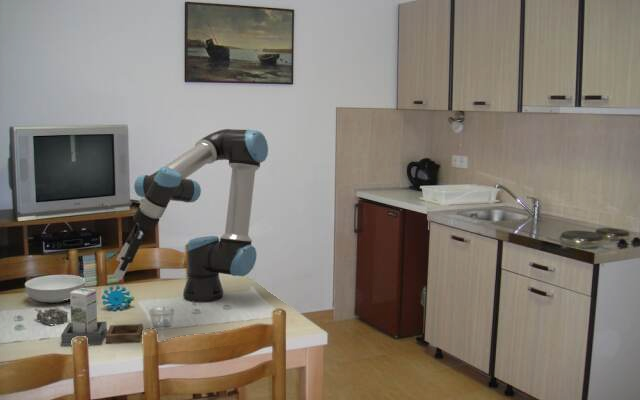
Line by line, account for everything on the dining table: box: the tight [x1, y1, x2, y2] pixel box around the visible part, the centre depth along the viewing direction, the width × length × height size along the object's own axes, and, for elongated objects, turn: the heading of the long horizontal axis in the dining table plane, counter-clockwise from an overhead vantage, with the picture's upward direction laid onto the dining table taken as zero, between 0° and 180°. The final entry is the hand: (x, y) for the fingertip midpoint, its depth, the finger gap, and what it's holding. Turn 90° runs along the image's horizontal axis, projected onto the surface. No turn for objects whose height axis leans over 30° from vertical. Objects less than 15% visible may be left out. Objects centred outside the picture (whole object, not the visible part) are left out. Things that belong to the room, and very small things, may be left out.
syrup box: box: [69, 287, 98, 333], centre depth 204 cm, size 6×6×14 cm
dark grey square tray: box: [60, 320, 108, 347], centre depth 205 cm, size 12×12×4 cm
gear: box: [101, 285, 135, 312], centre depth 238 cm, size 11×6×10 cm
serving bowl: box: [24, 274, 86, 304], centre depth 245 cm, size 21×21×7 cm
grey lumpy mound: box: [34, 307, 69, 326], centre depth 221 cm, size 11×8×4 cm
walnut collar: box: [105, 323, 144, 344], centre depth 207 cm, size 10×10×2 cm
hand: (118, 269), depth 211 cm, fingers open, 13 cm apart
